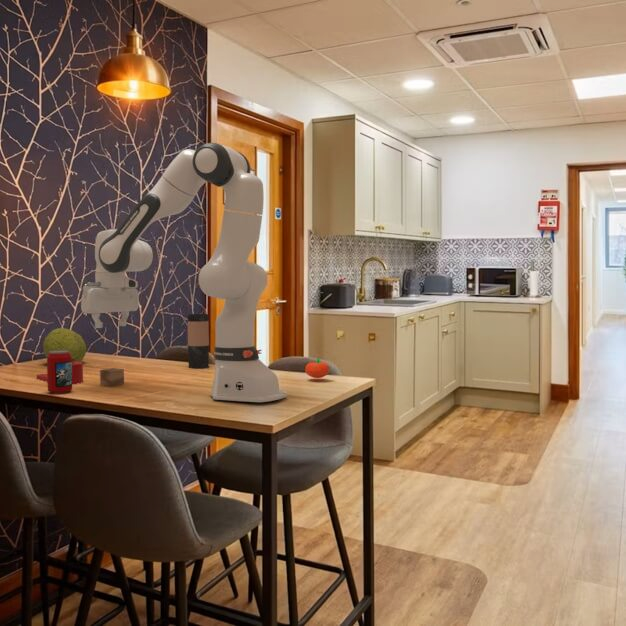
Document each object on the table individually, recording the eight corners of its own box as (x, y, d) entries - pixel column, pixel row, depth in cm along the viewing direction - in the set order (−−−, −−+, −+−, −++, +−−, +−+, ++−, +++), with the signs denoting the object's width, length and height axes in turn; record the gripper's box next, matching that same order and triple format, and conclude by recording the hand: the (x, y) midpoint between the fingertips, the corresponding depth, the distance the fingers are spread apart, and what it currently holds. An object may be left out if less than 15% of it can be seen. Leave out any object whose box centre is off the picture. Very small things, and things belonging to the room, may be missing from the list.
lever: (89, 383, 215) (89, 362, 215) (65, 387, 207) (65, 365, 207) (50, 379, 224) (50, 359, 224) (26, 383, 216) (26, 362, 215)
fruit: (76, 371, 241) (75, 329, 240) (36, 371, 241) (35, 329, 240) (91, 365, 257) (91, 326, 256) (54, 365, 257) (53, 326, 256)
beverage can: (64, 394, 193) (63, 352, 192) (42, 393, 194) (41, 352, 194) (77, 390, 200) (76, 350, 199) (56, 390, 201) (55, 349, 200)
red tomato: (307, 375, 229) (307, 357, 229) (330, 376, 228) (330, 357, 227) (302, 378, 222) (302, 359, 222) (326, 379, 221) (326, 360, 220)
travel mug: (213, 368, 249) (212, 314, 248) (199, 370, 242) (198, 315, 241) (197, 366, 253) (197, 313, 252) (183, 369, 247) (182, 314, 246)
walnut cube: (124, 385, 211) (123, 369, 210) (111, 387, 206) (111, 371, 206) (112, 383, 213) (112, 368, 213) (100, 386, 209) (100, 369, 209)
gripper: (90, 282, 198) (91, 329, 198) (141, 282, 215) (142, 325, 216) (75, 282, 201) (76, 328, 202) (127, 281, 219) (127, 324, 219)
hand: (110, 326), depth 209 cm, fingers open, 8 cm apart
